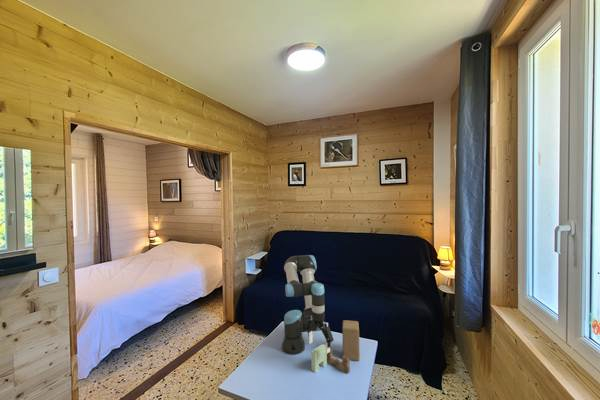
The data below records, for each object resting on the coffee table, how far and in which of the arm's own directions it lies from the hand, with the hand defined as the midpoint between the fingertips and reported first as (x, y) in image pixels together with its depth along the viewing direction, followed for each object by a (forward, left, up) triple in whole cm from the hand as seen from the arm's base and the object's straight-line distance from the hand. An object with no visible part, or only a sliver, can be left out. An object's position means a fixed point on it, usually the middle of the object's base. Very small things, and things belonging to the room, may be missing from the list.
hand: (319, 347), depth 145 cm
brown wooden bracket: (+7, +8, -12) cm, 16 cm away
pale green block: (0, 0, -12) cm, 12 cm away
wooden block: (+7, +22, -12) cm, 26 cm away
